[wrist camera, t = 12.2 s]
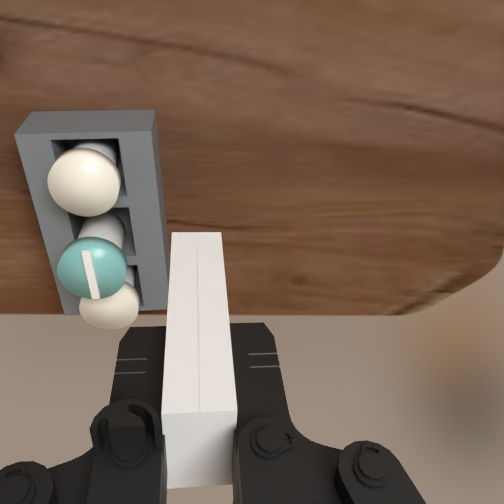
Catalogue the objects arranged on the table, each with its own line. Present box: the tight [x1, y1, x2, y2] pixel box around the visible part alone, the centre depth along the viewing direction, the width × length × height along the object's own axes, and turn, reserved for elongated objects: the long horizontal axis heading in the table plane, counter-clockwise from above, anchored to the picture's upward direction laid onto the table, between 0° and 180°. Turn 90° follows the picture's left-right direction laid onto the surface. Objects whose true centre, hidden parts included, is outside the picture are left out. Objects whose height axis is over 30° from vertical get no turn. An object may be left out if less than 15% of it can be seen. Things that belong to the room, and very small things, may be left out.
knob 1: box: [47, 138, 121, 217], centre depth 38 cm, size 5×5×6 cm
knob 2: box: [79, 265, 139, 330], centre depth 45 cm, size 5×5×6 cm
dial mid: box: [57, 212, 127, 299], centre depth 39 cm, size 5×5×7 cm
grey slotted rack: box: [14, 109, 170, 315], centre depth 43 cm, size 10×18×5 cm, turn 179°
